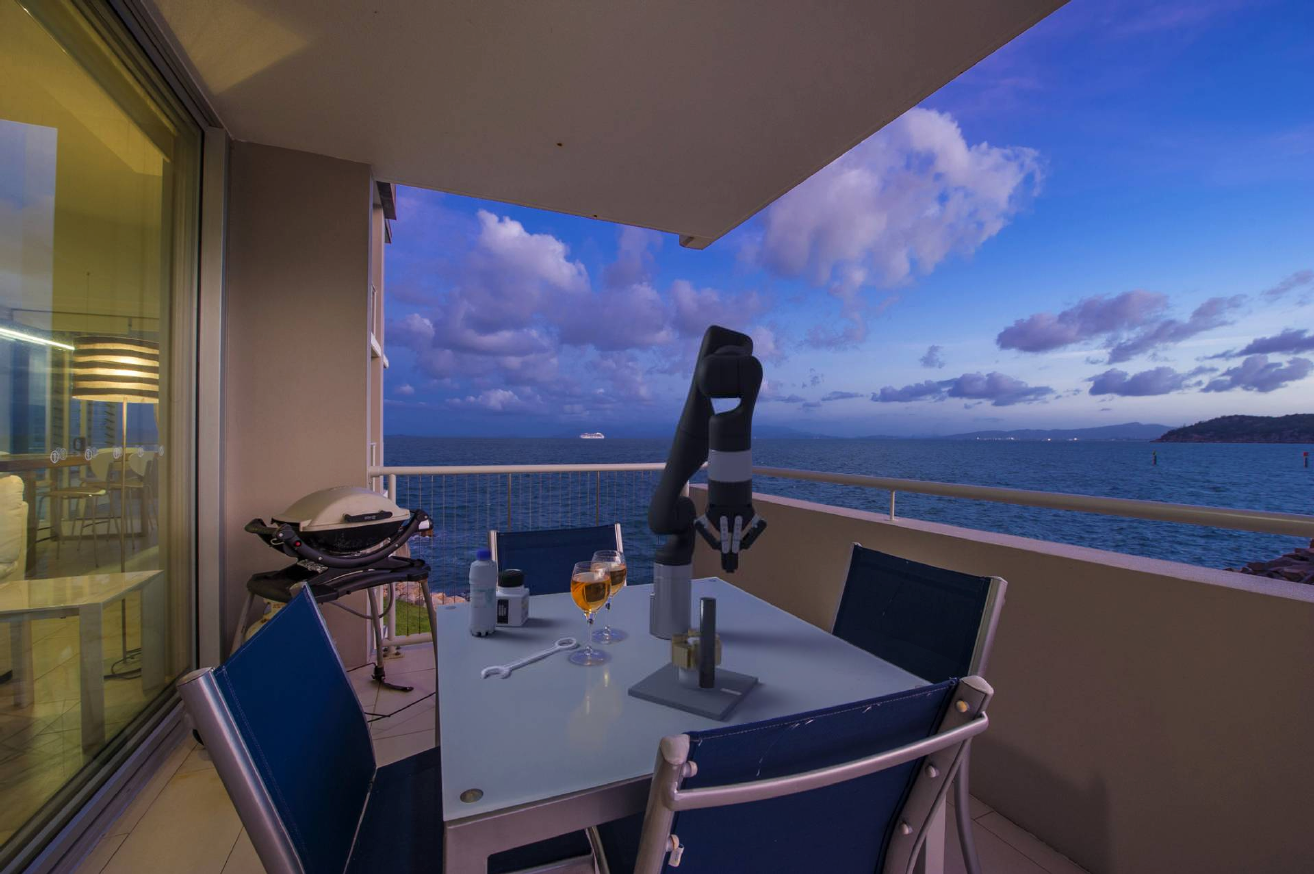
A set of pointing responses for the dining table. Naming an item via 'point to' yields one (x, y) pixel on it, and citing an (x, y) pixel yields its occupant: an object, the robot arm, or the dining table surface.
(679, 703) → the slate plate
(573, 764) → the dining table surface
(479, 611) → the bottle
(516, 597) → the container
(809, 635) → the dining table surface
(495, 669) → the wrench
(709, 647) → the black bar with brass
